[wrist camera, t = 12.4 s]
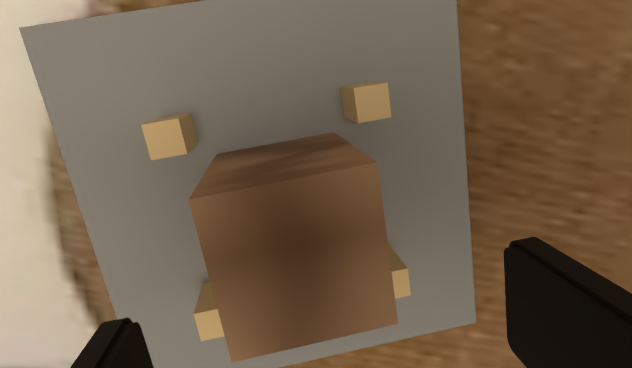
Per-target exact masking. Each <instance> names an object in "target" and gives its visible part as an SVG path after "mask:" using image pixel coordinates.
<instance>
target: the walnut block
mask: <svg viewBox="0 0 632 368" xmlns="http://www.w3.org/2000/svg"><path fill="white" fill-rule="evenodd" d="M188 201H189V204H190V208H191V212H192V216H193V219H194V223H195V227H196V231H197V234H198V238H199V242H200V246H201V249H202V253H203V257H204V261H205V264H206V268H207V272H208V276H209V279H210V283H211V287H212V291H213V294H214V298H215V302H216V306H217V309H218V313H219V317H220V321H221V324H222V328H223V332H224V336H225V339H226V343H227V347H228V351H229V354H230V358H231V362H232V363H233V362H237V361H241V360H246V359H250V358H254V357H258V356H263V355H267V354H271V353H276V352H280V351H284V350H289V349H293V348H297V347H302V346H306V345H310V344H315V343H319V342H323V341H328V340H332V339H336V338H341V337H345V336H349V335H354V334H358V333H362V332H367V331H371V330H375V329H379V328H384V327H388V326H392V325H397V324H398V317H397V309H396V301H395V294H394V286H393V278H392V271H391V263H390V255H389V247H388V240H387V232H386V224H385V216H384V209H383V201H382V193H381V185H380V178H379V170H378V163H377V162H376V161H375V160H373V159H372V158H370V157H369V156H367V155H366V154H365V153H363V152H362V151H360V150H359V149H358V148H356V147H355V146H353V145H352V144H350V143H349V142H348V141H346V140H345V139H343V138H342V137H340V136H339V135H338V134H336V133H335V132H331V133H326V134H321V135H315V136H310V137H305V138H299V139H294V140H289V141H283V142H278V143H273V144H267V145H262V146H257V147H251V148H246V149H241V150H235V151H230V152H225V153H219V154H216V156H215V157H214V159H213V161H212V162H211V164H210V165H209V167H208V169H207V170H206V172H205V173H204V175H203V177H202V178H201V180H200V182H199V183H198V185H197V186H196V188H195V190H194V191H193V193H192V194H191V196H190V198H189V199H188Z"/></svg>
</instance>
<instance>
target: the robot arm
mask: <svg viewBox="0 0 632 368" xmlns="http://www.w3.org/2000/svg"><path fill="white" fill-rule="evenodd" d="M504 269H505V294H506V319H507V338H508V343H509V345H510V347H511V349H512V351H513V352H514V354H515V355H516V356H517V357H518V358H519V359H520V360H521V361H522V363H523V364H524V365H525V366H526V367H527V368H632V294H631V293H630V292H628V291H626V290H625V289H623V288H621V287H620V286H618V285H616V284H614V283H613V282H611V281H609V280H608V279H606V278H604V277H603V276H601V275H599V274H598V273H596V272H594V271H592V270H591V269H589V268H587V267H586V266H584V265H582V264H581V263H579V262H577V261H576V260H574V259H572V258H571V257H569V256H567V255H565V254H564V253H562V252H560V251H559V250H557V249H555V248H554V247H552V246H550V245H549V244H547V243H545V242H543V241H542V240H540V239H538V238H536V237H530V238H525V239H520V240H515V241H512V242H511V243H510V245H509V248H506V249H505V251H504ZM70 368H154V367H153V364H152V360H151V357H150V354H149V351H148V348H147V345H146V342H145V338H144V335H143V332H142V329H141V326H140V324H139V323H138V322H132V320H131V319H130V318H123V319H118V320H113V321H108V322H103V323H102V324H101V325H100V326H99V328H98V329H97V331H96V332H95V333H94V335H93V336H92V338H91V339H90V340H89V342H88V343H87V345H86V346H85V348H84V349H83V350H82V352H81V353H80V355H79V356H78V357H77V359H76V360H75V362H74V363H73V365H72V366H71V367H70Z"/></svg>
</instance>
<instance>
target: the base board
mask: <svg viewBox="0 0 632 368" xmlns="http://www.w3.org/2000/svg"><path fill="white" fill-rule="evenodd" d="M19 29H20V32H21V35H22V38H23V41H24V44H25V47H26V50H27V53H28V56H29V59H30V62H31V65H32V68H33V71H34V74H35V77H36V80H37V83H38V86H39V89H40V91H41V94H42V97H43V100H44V103H45V106H46V109H47V112H48V115H49V118H50V121H51V124H52V127H53V130H54V133H55V136H56V139H57V142H58V145H59V148H60V151H61V154H62V157H63V160H64V163H65V166H66V169H67V172H68V175H69V178H70V181H71V184H72V186H73V189H74V192H75V195H76V198H77V201H78V204H79V207H80V210H81V213H82V216H83V219H84V222H85V225H86V228H87V231H88V234H89V237H90V240H91V243H92V246H93V249H94V252H95V255H96V258H97V261H98V264H99V267H100V270H101V273H102V276H103V278H104V281H105V284H106V287H107V290H108V293H109V296H110V299H111V302H112V305H113V308H114V311H115V314H116V317H117V320H118V319H123V318H130V319H131V320H132V322H138V323H139V324H140V326H141V329H142V332H143V335H144V338H145V342H146V345H147V348H148V351H149V354H150V357H151V360H152V364H153V367H154V368H280V367H284V366H289V365H293V364H297V363H302V362H306V361H310V360H315V359H319V358H324V357H328V356H332V355H337V354H341V353H345V352H350V351H354V350H359V349H363V348H367V347H372V346H376V345H380V344H385V343H389V342H394V341H398V340H402V339H407V338H411V337H415V336H420V335H424V334H429V333H433V332H437V331H442V330H446V329H450V328H455V327H459V326H464V325H468V324H472V323H476V310H475V294H474V278H473V261H472V245H471V229H470V212H469V196H468V180H467V163H466V147H465V130H464V114H463V98H462V81H461V65H460V49H459V32H458V16H457V0H204V1H197V2H190V3H183V4H177V5H170V6H163V7H156V8H150V9H143V10H136V11H129V12H123V13H116V14H109V15H102V16H96V17H89V18H82V19H75V20H68V21H62V22H55V23H48V24H41V25H35V26H28V27H21V28H19ZM331 132H335V133H336V134H338V135H339V136H340V137H342V138H343V139H345V140H346V141H348V142H349V143H350V144H352V145H353V146H355V147H356V148H358V149H359V150H360V151H362V152H363V153H365V154H366V155H367V156H369V157H370V158H372V159H373V160H375V161H376V162H377V163H378V170H379V178H380V185H381V193H382V201H383V209H384V216H385V224H386V232H387V240H388V247H389V255H390V263H391V271H392V278H393V286H394V294H395V301H396V309H397V317H398V324H397V325H392V326H388V327H384V328H379V329H375V330H371V331H367V332H362V333H358V334H354V335H349V336H345V337H341V338H336V339H332V340H328V341H323V342H319V343H315V344H310V345H306V346H302V347H297V348H293V349H289V350H284V351H280V352H276V353H271V354H267V355H263V356H258V357H254V358H250V359H246V360H241V361H237V362H233V363H232V362H231V358H230V354H229V351H228V347H227V343H226V339H225V336H224V332H223V328H222V324H221V321H220V317H219V313H218V309H217V306H216V302H215V298H214V294H213V291H212V287H211V283H210V279H209V276H208V272H207V268H206V264H205V261H204V257H203V253H202V249H201V246H200V242H199V238H198V234H197V231H196V227H195V223H194V219H193V216H192V212H191V208H190V204H189V201H188V199H189V198H190V196H191V194H192V193H193V191H194V190H195V188H196V186H197V185H198V183H199V182H200V180H201V178H202V177H203V175H204V173H205V172H206V170H207V169H208V167H209V165H210V164H211V162H212V161H213V159H214V157H215V156H216V154H219V153H225V152H230V151H235V150H241V149H246V148H251V147H257V146H262V145H267V144H273V143H278V142H283V141H289V140H294V139H299V138H305V137H310V136H315V135H321V134H326V133H331Z"/></svg>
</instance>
